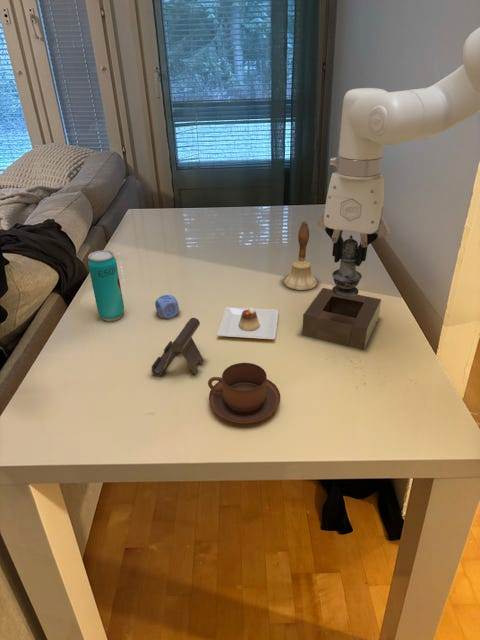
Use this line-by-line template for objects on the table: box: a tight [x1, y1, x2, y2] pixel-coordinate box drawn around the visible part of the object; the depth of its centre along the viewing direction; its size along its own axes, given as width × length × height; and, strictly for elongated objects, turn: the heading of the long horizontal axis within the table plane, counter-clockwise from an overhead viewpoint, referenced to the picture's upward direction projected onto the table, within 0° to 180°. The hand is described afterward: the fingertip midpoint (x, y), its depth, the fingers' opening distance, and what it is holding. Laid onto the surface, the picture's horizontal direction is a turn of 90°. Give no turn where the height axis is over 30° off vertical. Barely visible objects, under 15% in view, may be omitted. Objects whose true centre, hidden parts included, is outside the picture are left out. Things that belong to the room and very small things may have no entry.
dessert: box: [216, 306, 280, 340], centre depth 99 cm, size 12×12×5 cm
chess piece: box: [331, 234, 363, 297], centre depth 92 cm, size 6×6×12 cm
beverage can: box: [87, 249, 125, 322], centre depth 101 cm, size 6×6×15 cm
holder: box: [301, 287, 382, 350], centre depth 98 cm, size 13×13×5 cm
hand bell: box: [283, 220, 318, 291], centre depth 114 cm, size 8×8×16 cm
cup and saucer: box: [207, 362, 281, 424], centre depth 78 cm, size 12×12×6 cm
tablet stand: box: [151, 317, 205, 377], centre depth 87 cm, size 9×8×8 cm
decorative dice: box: [154, 294, 180, 320], centre depth 105 cm, size 4×4×4 cm
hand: (348, 260), depth 92 cm, fingers closed on chess piece, 3 cm apart
